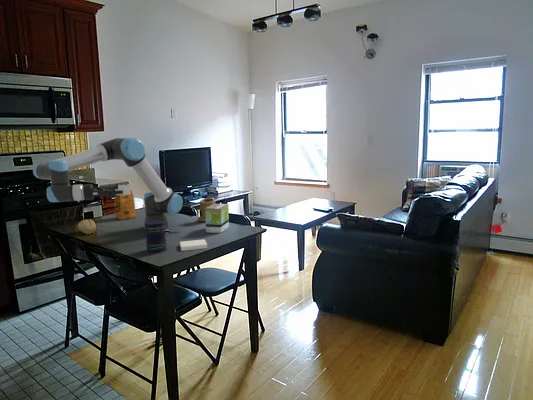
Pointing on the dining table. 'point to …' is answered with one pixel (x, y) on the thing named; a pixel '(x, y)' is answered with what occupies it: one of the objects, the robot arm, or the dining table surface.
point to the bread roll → (87, 226)
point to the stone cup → (203, 205)
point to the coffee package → (125, 206)
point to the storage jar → (155, 236)
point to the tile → (193, 245)
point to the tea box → (217, 218)
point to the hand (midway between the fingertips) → (131, 189)
